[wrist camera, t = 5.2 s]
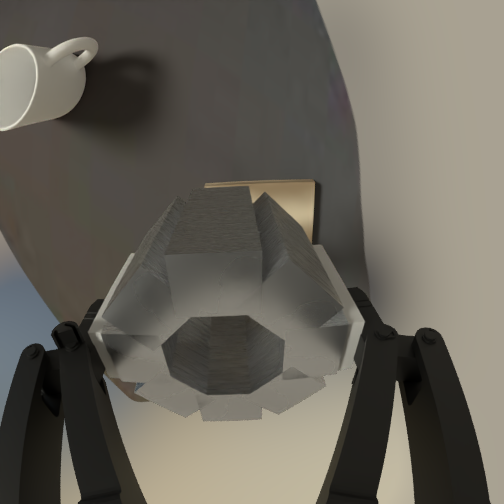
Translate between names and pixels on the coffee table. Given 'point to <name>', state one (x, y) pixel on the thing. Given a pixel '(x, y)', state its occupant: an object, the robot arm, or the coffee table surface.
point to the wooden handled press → (284, 197)
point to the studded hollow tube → (225, 310)
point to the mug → (42, 81)
